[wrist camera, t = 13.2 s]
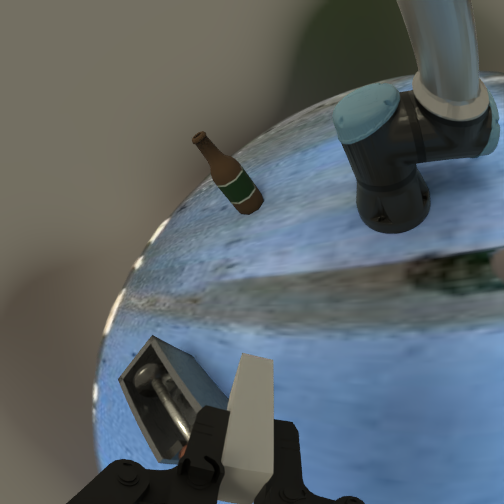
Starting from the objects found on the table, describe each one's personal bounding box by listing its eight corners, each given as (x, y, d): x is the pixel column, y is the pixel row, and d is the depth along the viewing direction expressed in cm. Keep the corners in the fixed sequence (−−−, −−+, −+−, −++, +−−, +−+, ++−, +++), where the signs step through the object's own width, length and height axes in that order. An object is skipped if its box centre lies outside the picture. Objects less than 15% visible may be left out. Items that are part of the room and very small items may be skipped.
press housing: (250, 422, 39) (206, 413, 32) (206, 465, 36) (158, 463, 29) (191, 355, 53) (152, 335, 46) (159, 394, 51) (117, 379, 44)
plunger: (237, 439, 34) (202, 435, 29) (206, 469, 32) (168, 468, 27) (181, 369, 47) (149, 355, 42) (158, 397, 46) (125, 386, 41)
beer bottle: (270, 199, 71) (216, 125, 55) (247, 220, 70) (188, 148, 55) (255, 191, 76) (204, 123, 61) (234, 209, 76) (179, 144, 61)
